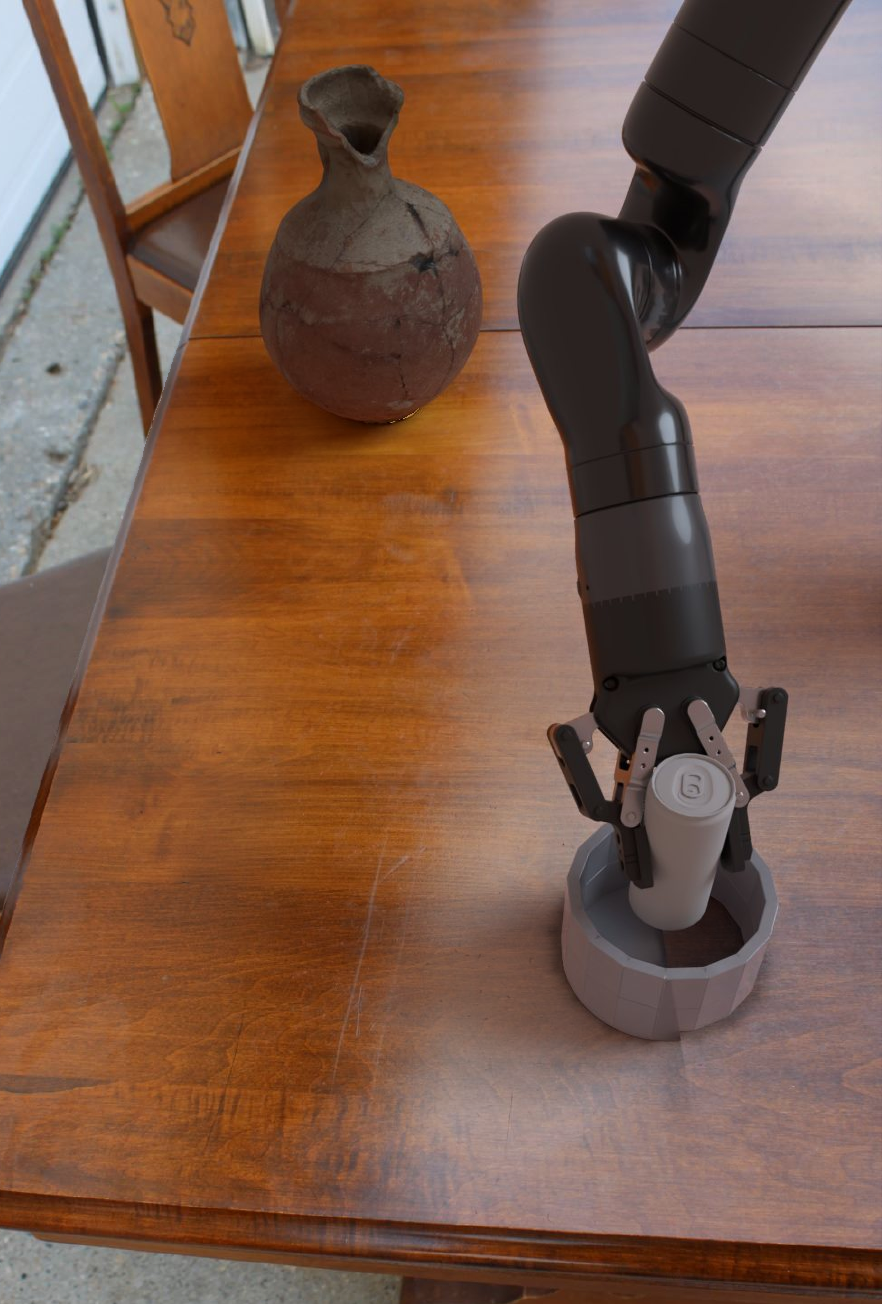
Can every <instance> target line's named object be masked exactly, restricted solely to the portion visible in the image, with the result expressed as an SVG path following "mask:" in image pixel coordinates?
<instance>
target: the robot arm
mask: <svg viewBox="0 0 882 1304" xmlns="http://www.w3.org/2000/svg"><path fill="white" fill-rule="evenodd" d="M853 1H854V0H684V1H683V2H682V4H681V6H680V8H679V10H678V11H677V14H676V15H675V17H674V19H673V22H672V23H671V25H670V27H669V29H668V30H667V32H666V34H665V36H664V38H663V40H662V42H661V43H660V45H659V48H658V50H657V51H656V53H655V55H654V57H653V59H652V61H651V63H650V64H649V67H648V69H647V71H646V72H645V74H644V76H643V78H644V80H642V81H641V82H640V84H639V86H638V88H637V90H636V92H635V94H634V96H633V99H632V101H631V103H630V105H629V108H628V110H627V111H626V114H625V116H624V119H623V123H622V127H621V142H622V145H623V148H624V150H625V152H626V153H627V155H628V156H629V158H630V159H631V160H632V162H633V163H635V169H634V172H633V175H632V178H631V181H630V184H629V186H628V189H627V192H626V195H625V197H624V201H623V203H622V206H621V209H620V211H619V213H618V215H617V217H615V216H611V215H607V214H604V213H600V212H596V211H573V212H569V213H565V214H561V215H560V216H558V217H556V218H554V219H552V220H550V221H549V222H548V223H547V224H545V225H544V226H543V227H542V228H540V230H539V231H538V232H537V234H535V236H533V238H532V240H531V242H530V243H529V246H528V247H527V249H526V250H525V254H524V256H523V259H522V262H521V265H520V268H519V269H520V270H519V274H518V279H517V280H518V281H517V289H516V307H517V308H516V309H517V317H518V324H519V329H520V332H521V333H520V334H521V337H522V341H523V345H524V349H525V351H526V355H527V357H528V361H529V363H530V365H531V366H530V367H531V369H532V371H533V373H534V376H535V378H536V381H537V383H538V386H539V389H540V392H541V395H542V396H543V400H544V402H545V403H544V404H545V405H546V408H547V412H548V413H549V416H550V418H551V420H552V422H553V424H554V426H555V428H556V431H557V433H558V435H559V437H560V440H561V443H562V446H563V453H564V462H565V469H566V477H567V483H568V488H569V497H570V503H571V509H572V516H573V519H574V520H573V525H574V526H573V527H574V559H575V568H576V569H575V570H576V576H577V578H576V589H577V594H578V596H579V599H580V603H581V608H582V609H581V610H582V615H583V622H584V629H585V636H586V643H587V649H588V655H589V662H590V663H589V664H590V669H591V676H592V683H593V696H592V699H591V702H590V704H589V708H588V712H586V713H583V714H581V715H580V716H577V717H575V718H573V719H570V720H569V721H567V722H564V723H559V722H554V723H552V724H550V725H549V726H548V727H547V730H546V737H547V741H548V742H549V744H550V748H551V749H552V751H553V755H554V756H555V759H556V760H557V761H556V762H557V763H558V765H559V768H560V770H561V773H562V775H563V777H564V780H565V781H566V785H567V786H568V789H569V791H570V794H571V795H572V798H573V800H574V803H575V805H576V807H577V809H578V811H579V813H580V815H581V816H583V817H586V818H587V819H590V820H592V821H593V822H597V823H600V822H601V823H605V824H606V823H610V824H611V825H612V826H613V828H614V832H615V839H616V846H617V852H618V859H619V866H620V870H621V872H622V874H623V875H624V877H625V878H627V879H629V880H630V881H632V882H633V884H634V885H635V886H636V887H638V888H639V889H646V888H652V887H653V886H654V880H653V873H652V866H651V859H650V852H649V845H648V838H647V832H646V826H644V825H642V824H640V821H641V818H642V812H643V808H644V802H645V797H646V791H647V787H648V784H649V781H650V779H651V777H652V775H653V772H654V770H655V768H656V767H657V766H658V765H659V764H660V763H661V762H663V761H664V760H665V759H667V758H669V757H672V756H674V755H679V754H684V753H692V754H700V755H705V756H708V757H710V758H712V759H715V760H717V761H718V762H720V763H721V764H722V765H724V766H725V767H726V768H727V769H728V771H729V772H730V773H731V775H732V777H733V779H734V781H735V788H736V791H735V795H736V801H735V805H734V809H733V813H732V816H731V820H730V823H729V827H728V831H727V834H726V838H725V842H724V845H723V849H722V852H721V856H720V863H721V866H722V868H723V869H724V870H726V871H728V872H730V873H735V872H741V871H744V870H745V861H746V860H751V856H752V852H753V848H754V847H753V848H752V846H753V842H752V835H751V828H750V821H749V812H748V807H749V804H750V802H751V801H752V800H753V799H754V798H756V797H757V796H759V795H761V794H763V793H765V792H772V791H774V790H775V789H776V788H777V787H778V785H779V779H780V771H781V765H782V764H781V762H782V757H783V756H782V755H783V748H784V747H783V746H784V739H785V730H786V721H787V714H788V704H789V694H788V691H787V690H786V689H784V687H780V686H773V685H771V686H770V685H769V686H768V685H765V686H758V687H753V686H740V685H739V683H738V681H737V680H736V679H735V677H734V676H733V675H732V673H731V671H730V669H729V665H728V655H727V645H726V639H725V630H724V624H723V616H722V615H723V614H722V607H721V602H720V595H719V586H718V579H717V572H716V564H715V557H714V556H715V555H714V549H713V541H712V536H711V531H710V528H709V523H708V520H707V516H706V513H705V509H704V505H703V501H702V496H701V494H700V493H701V489H700V481H699V474H698V467H697V466H698V465H697V459H696V451H695V446H694V439H693V432H692V427H691V423H690V419H689V418H690V417H689V414H688V412H687V409H686V407H685V405H684V403H683V402H682V401H681V399H680V398H679V397H677V396H676V395H675V394H674V393H672V392H671V391H669V389H667V388H665V387H664V386H663V385H662V384H661V383H660V382H659V380H658V378H657V377H656V374H655V372H654V368H653V365H652V362H651V358H650V354H652V353H653V352H655V351H656V350H658V349H660V347H662V346H663V345H664V344H665V343H666V342H668V341H669V340H670V339H671V338H672V337H673V336H674V335H675V333H676V332H677V331H678V330H679V328H681V326H682V325H683V324H684V322H685V321H686V320H687V318H688V317H689V315H690V314H691V312H692V311H693V309H694V307H695V306H696V304H697V302H698V300H699V298H700V296H701V294H702V292H703V290H704V288H705V287H706V283H707V282H708V279H709V276H710V274H711V271H712V269H713V266H714V264H715V261H716V258H717V256H718V254H719V251H720V248H721V245H722V243H723V240H724V238H725V234H726V232H727V229H728V227H729V225H730V222H731V219H732V216H733V212H734V210H735V206H736V203H737V200H738V197H739V193H740V191H741V188H742V184H743V182H744V180H745V178H746V176H747V174H748V173H749V171H750V169H751V168H752V166H753V165H754V163H756V161H757V159H758V157H759V156H760V154H761V153H762V151H763V147H765V145H766V144H767V142H768V141H769V139H770V137H771V136H772V134H773V132H774V131H775V129H776V127H777V126H778V125H779V123H780V121H781V119H782V117H783V116H784V114H785V112H786V110H787V109H788V107H789V105H790V104H791V102H792V101H793V99H794V97H795V96H796V93H797V92H798V91H799V89H800V87H801V86H802V84H803V83H804V80H805V79H806V77H807V75H808V74H809V72H810V71H811V69H812V67H813V66H814V64H815V62H816V61H817V59H818V57H819V55H820V53H821V52H822V50H823V49H824V47H825V46H826V44H827V42H828V40H829V39H830V37H831V35H832V34H833V32H834V31H835V29H836V28H837V26H838V24H839V23H840V21H841V19H842V18H843V17H844V14H845V13H846V11H847V10H848V8H849V7H850V5H851V3H853ZM737 705H738V707H739V709H740V716H741V719H742V720H743V721H744V722H745V723H747V730H746V739H745V748H744V755H743V765H742V773H741V774H740V773H739V771H738V769H737V767H736V766H737V761H736V759H735V757H734V755H733V754H732V752H731V750H730V748H729V745H728V744H727V742H726V740H725V738H724V736H723V734H722V733H723V732H724V730H725V727H726V725H727V724H728V721H729V719H730V718H731V716H732V713H733V712H734V710H735V708H736V706H737ZM595 730H598V731H599V732H600V733H601V734H602V735H603V736H604V737H605V738H606V739H607V740H608V741H609V742H610V743H611V744H612V745H613V747H615V748H616V749H617V750H618V751H617V756H616V762H615V767H614V772H613V781H614V784H613V791H612V796H611V800H609V799H606V798H605V796H604V793H603V791H602V788H601V786H600V784H599V782H598V779H597V777H596V774H595V772H594V769H593V768H592V765H591V762H590V761H589V758H588V754H590V753H591V752H592V750H593V748H594V742H593V735H594V732H595Z"/></svg>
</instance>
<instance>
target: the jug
mask: <svg viewBox="0 0 882 1304" xmlns="http://www.w3.org/2000/svg"><path fill="white" fill-rule="evenodd" d="M405 99H406V97H405V92H404V91H403V89H402V87H401V86H400V85H399V84H398V83H396V82H394V81H391V80H389V79H387V78H385V77H382V75H381V74H380V73H379V72H378V71H377V70H376V69H375V68H374V67H373V66H371V65H370V64H364V63H363V64H362V63H354V64H352V63H351V64H346V65H341V66H335V67H332V68H329V69H325V70H323V71H320V72H319V73H316V74H314V75H313V76H311V77H309V78H308V79H307V80H305V81H304V82H303V84H302V85H301V86H300V88H299V90H298V91H297V93H296V101H297V104H298V115H299V118H300V121H302V123H303V125H304V126H305V127H306V128H307V129H309V130H311V131H312V132H313V134H314V137H315V138H316V146H317V151H318V154H319V157H320V162H321V164H322V168H323V170H322V178H321V180H320V182H319V184H318V186H317V187H316V188H315V189H314V190H312V192H310V193H309V194H307V195H306V196H304V197H303V198H302V199H300V200H299V201H298V202H296V203H295V205H293V206H292V207H291V208H290V209H289V210H288V211H287V212H286V213H285V215H283V217H282V219H281V221H280V223H279V225H278V226H277V229H276V233H275V236H274V239H273V241H272V243H271V246H270V249H269V251H268V252H269V253H268V255H267V257H266V261H265V265H264V270H263V274H262V279H261V285H260V291H259V300H258V301H259V302H258V318H259V319H258V320H259V327H260V334H261V337H262V340H263V343H264V346H265V349H266V351H267V353H268V355H269V357H270V360H271V361H272V363H273V364H274V366H275V367H276V370H278V372H279V373H280V374H281V376H282V377H283V378H284V380H285V381H286V382H287V383H288V384H289V385H290V386H291V387H292V388H293V389H294V390H295V391H296V392H297V393H298V394H300V396H301V397H303V398H305V400H308V401H309V402H311V403H312V404H314V405H315V406H317V407H318V408H321V409H322V410H324V411H325V412H329V413H331V414H334V415H335V416H338V417H341V418H345V419H350V420H354V421H358V422H359V421H362V422H364V423H365V424H366V423H367V424H366V425H369V424H368V423H370V424H376V423H375V422H378V423H377V424H388V423H387V422H393V421H397V420H399V419H403V418H405V417H407V416H408V415H410V414H412V413H414V412H415V411H416V410H417V409H418V408H420V407H421V408H423V407H425V406H427V405H429V404H430V403H431V402H433V401H434V400H436V399H437V398H438V397H439V396H441V395H442V394H443V393H444V392H445V391H446V390H447V389H448V388H449V387H450V386H451V384H452V383H453V382H454V381H456V379H457V377H458V376H459V375H460V374H461V372H462V370H464V368H465V366H466V364H467V362H468V361H469V359H470V357H471V355H472V353H473V351H474V349H475V347H476V344H477V341H478V338H479V336H480V333H481V332H480V331H481V326H482V322H483V321H482V320H483V310H484V306H483V305H484V298H483V297H484V295H483V284H482V279H481V275H480V271H479V267H478V264H477V260H476V258H475V254H474V252H473V249H472V248H471V246H470V244H469V242H468V240H467V238H466V236H465V234H464V233H463V231H462V229H461V228H460V226H459V224H458V223H457V221H456V220H455V217H454V215H453V213H452V211H451V210H450V208H449V206H447V204H446V203H445V202H444V201H443V200H441V198H440V197H438V196H437V195H436V194H434V193H432V192H431V191H430V190H428V189H426V188H425V187H422V186H420V185H418V184H415V183H412V182H410V181H407V180H406V179H405V180H404V179H402V178H399V177H396V176H393V174H392V170H391V167H390V163H389V143H390V139H391V137H392V135H393V133H394V131H395V129H396V127H397V126H398V124H399V119H400V117H399V116H400V113H401V110H402V108H403V105H404V103H405ZM421 408H420V409H421ZM397 422H398V421H397Z"/></svg>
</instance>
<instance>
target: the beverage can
mask: <svg viewBox="0 0 882 1304" xmlns="http://www.w3.org/2000/svg"><path fill="white" fill-rule="evenodd" d="M735 791H736V788H735V781H734V779H733V777H732V775H731V773H730V772H729V771H728V769H727V768H726V767H725V766H724V765H722V764H721V763H720V762H718V761H717V760H715V759H712V758H710V757H708V756H705V755H700V754H692V753H684V754H679V755H674V756H672V757H669V758H667V759H665V760H664V761H663V762H661V763H660V764H659V765H658V766H657V767H655V768H654V770H653V775H652V777H651V779H650V781H649V784H648V787H647V791H646V797H645V802H644V807H643V813H642V819H641V824H642V825H644V826H646V832H647V838H648V845H649V852H650V859H651V866H652V873H653V880H654V886H653V887H652V888H646V889H639V888H638V887H636V886H635V885H634V884H633V882H632V881H631V882H630V887H629V902H630V905H631V908H632V910H633V911H634V912H635V914H636V915H637V916H638V917H639V918H640V919H641V920H642V921H643V922H645V923H646V924H648V925H650V926H652V927H654V928H658V929H662V931H680V930H685V929H688V928H690V927H691V926H694V925H695V924H696V923H697V922H699V921H700V920H701V919H702V917H703V916H704V914H705V912H706V910H707V907H708V902H709V899H710V897H711V896H710V892H711V889H712V885H713V881H714V878H715V874H716V870H717V867H718V863H719V860H720V856H721V852H722V849H723V845H724V842H725V838H726V834H727V831H728V827H729V823H730V820H731V816H732V813H733V809H734V805H735V801H736V795H735Z"/></svg>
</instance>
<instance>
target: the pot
mask: <svg viewBox="0 0 882 1304" xmlns="http://www.w3.org/2000/svg"><path fill="white" fill-rule="evenodd" d="M642 813H643V812H642ZM641 819H642V818H641ZM640 824H641V821H640ZM752 848H753V852H752V856H751V860H746V861H745V870H744V871H741V872H735V873H730V872H728V871H726V870H724V869H723V868H722V866H721V863H720V860H719V863H718V867H717V870H716V874H715V878H714V881H713V885H712V889H711V892H710V896H709V897H712V898H713V899H714V900H716V901H718V902H719V903H720V904H722V905H723V906H724V908H725V909H726V910H727V912H728V913H729V915H730V916H731V917H732V919H733V920H734V921H735V923H736V924H737V926H738V927H739V928H740V931H741V935H742V936H741V937H742V940H743V946H742V947H741V948H740V949H739V950H738V951H737V952H736V953H734V954H732V955H730V956H727V957H725V958H722V959H719V960H718V961H715V962H712V963H711V964H708V965H705V966H697V967H695V966H694V967H690V966H689V967H669V961H668V955H667V950H666V943H665V939H664V932H663V930H662V929H658V928H654V927H652V926H650V925H648V924H646V923H645V922H643V921H642V920H641V919H640V918H639V917H638V916H637V915H636V914H635V912H634V911H633V910H632V908H631V905H630V902H629V887H630V882H631V881H630V880H629V879H627V878H625V877H624V875H623V874H622V872H621V870H620V866H619V859H618V852H617V846H616V839H615V832H614V828H613V826H612V825H611V824H610V823H606V822H605V823H604V824H602V825H601V826H600V827H599V828H598V829H597V830H596V831H595V832H594V833H592V834H591V835H590V836H589V837H588V838H587V839H586V840H585V841H584V842H583V843H582V844H581V845H580V846H579V847H578V848H577V849H576V852H575V856H574V858H573V859H572V862H571V865H570V867H569V871H568V873H567V874H566V882H565V893H564V904H563V914H562V924H561V935H560V943H561V959H562V965H563V970H564V973H565V977H566V979H567V982H568V984H569V985H570V987H571V989H572V991H573V993H574V994H575V996H576V997H577V999H578V1000H579V1001H580V1002H581V1003H582V1005H584V1006H585V1008H586V1009H587V1010H588V1011H589V1012H591V1014H593V1015H594V1016H595V1017H596V1018H598V1019H599V1020H600V1021H602V1022H603V1023H605V1024H607V1025H608V1026H610V1027H612V1028H613V1029H616V1030H617V1031H619V1032H622V1033H624V1034H628V1035H629V1036H633V1037H636V1038H640V1039H644V1040H651V1041H657V1042H658V1041H659V1042H661V1041H662V1042H676V1041H682V1038H681V1032H693V1031H696V1030H699V1029H701V1028H704V1027H706V1026H708V1025H710V1024H713V1023H715V1022H718V1021H720V1020H723V1019H725V1018H727V1017H729V1016H730V1015H731V1014H732V1013H733V1012H734V1011H735V1010H736V1009H737V1008H738V1006H739V1005H740V1004H741V1003H742V1002H743V1001H744V1000H746V998H747V997H748V995H750V993H751V992H752V991H753V989H754V986H755V983H756V980H757V977H758V974H759V971H760V969H761V966H762V962H763V961H764V957H765V954H766V951H767V948H768V945H769V942H770V940H771V937H772V933H773V931H774V930H773V929H774V926H775V922H776V919H777V915H778V910H779V907H780V902H779V898H778V894H777V893H778V892H777V889H776V886H775V882H774V881H775V880H774V877H773V873H772V871H771V868H770V867H769V865H768V864H767V863H766V861H765V860H764V859H763V858H762V856H761V855H760V854H759V853H758V851H757V850H756V849H755V848H754V846H753V845H752Z"/></svg>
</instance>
